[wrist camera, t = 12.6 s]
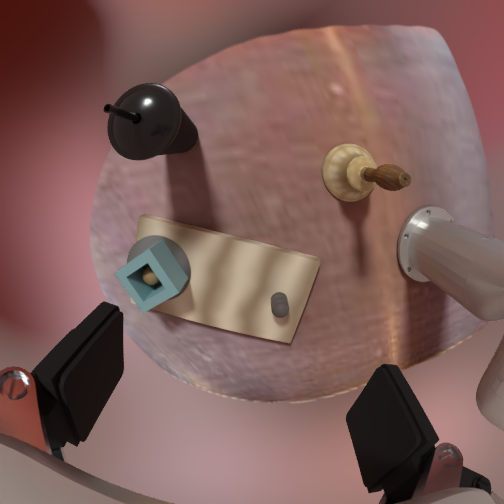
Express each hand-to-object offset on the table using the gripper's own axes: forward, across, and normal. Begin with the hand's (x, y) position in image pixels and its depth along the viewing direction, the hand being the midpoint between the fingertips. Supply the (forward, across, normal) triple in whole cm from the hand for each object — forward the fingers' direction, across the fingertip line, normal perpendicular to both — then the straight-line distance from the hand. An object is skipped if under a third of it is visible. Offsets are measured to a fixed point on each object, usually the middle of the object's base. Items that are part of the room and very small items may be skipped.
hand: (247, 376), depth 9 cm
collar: (+28, +12, +10) cm, 32 cm away
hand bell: (+31, -11, -10) cm, 34 cm away
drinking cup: (+31, +13, -9) cm, 34 cm away
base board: (+30, +3, +10) cm, 32 cm away
